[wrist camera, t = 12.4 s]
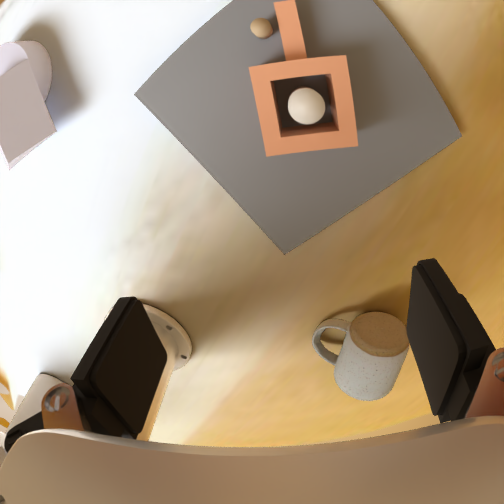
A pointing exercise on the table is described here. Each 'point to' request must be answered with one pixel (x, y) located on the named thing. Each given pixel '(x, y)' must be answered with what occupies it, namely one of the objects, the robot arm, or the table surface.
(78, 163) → the table surface
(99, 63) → the table surface
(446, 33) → the table surface
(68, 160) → the table surface
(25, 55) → the wedge on round base
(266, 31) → the dowel pin
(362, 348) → the ceramic mug
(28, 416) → the cylinder vase
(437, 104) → the base plate
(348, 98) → the square frame with post
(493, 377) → the robot arm
